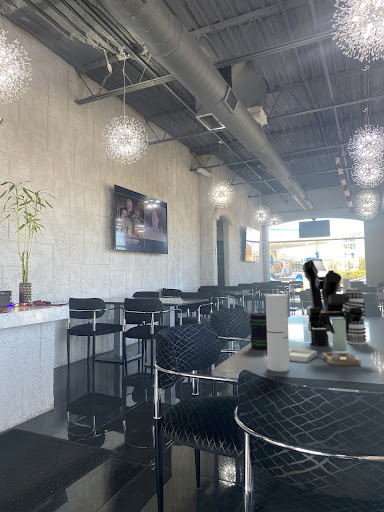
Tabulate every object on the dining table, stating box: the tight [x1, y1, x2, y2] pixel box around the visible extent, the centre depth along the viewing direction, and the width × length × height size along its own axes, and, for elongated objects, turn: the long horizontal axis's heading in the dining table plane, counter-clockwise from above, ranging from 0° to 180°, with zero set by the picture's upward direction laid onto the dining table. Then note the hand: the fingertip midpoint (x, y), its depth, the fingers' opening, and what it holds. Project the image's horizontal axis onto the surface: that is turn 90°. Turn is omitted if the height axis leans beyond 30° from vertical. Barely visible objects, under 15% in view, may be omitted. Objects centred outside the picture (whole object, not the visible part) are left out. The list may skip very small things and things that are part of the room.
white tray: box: [289, 348, 318, 364], centre depth 133 cm, size 12×10×2 cm
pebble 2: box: [346, 352, 356, 360], centre depth 122 cm, size 3×3×3 cm
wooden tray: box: [321, 352, 362, 367], centre depth 126 cm, size 12×10×2 cm
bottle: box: [340, 277, 352, 338], centre depth 175 cm, size 8×8×30 cm
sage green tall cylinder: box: [331, 318, 348, 352], centre depth 126 cm, size 5×5×11 cm
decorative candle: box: [344, 288, 367, 346], centre depth 161 cm, size 9×9×25 cm
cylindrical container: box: [265, 293, 291, 373], centre depth 119 cm, size 7×7×25 cm
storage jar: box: [249, 312, 267, 352], centre depth 153 cm, size 10×10×15 cm
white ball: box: [331, 352, 340, 359], centre depth 123 cm, size 3×3×3 cm
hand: (340, 333), depth 125 cm, fingers closed on sage green tall cylinder, 5 cm apart
